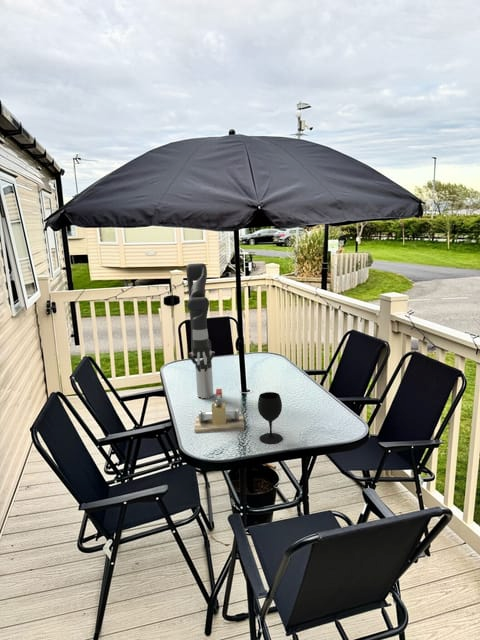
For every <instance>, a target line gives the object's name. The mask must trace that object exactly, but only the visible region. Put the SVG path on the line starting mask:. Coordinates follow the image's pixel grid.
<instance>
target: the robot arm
mask: <svg viewBox="0 0 480 640" xmlns="http://www.w3.org/2000/svg"><path fill="white" fill-rule="evenodd" d="M207 269H208V268H207V266H206V264H205V263H204V262H203V263H188V264H186V270H185V272H186V279H187V290H188V300H187V304H186V307H187V310H188V311H189V317H190V319H189V320H190V332H191V335H190V336H191V338H190V339H191V342H190V343H191V344H190V345H191V347H190V348H191V352H189V353H188V354H187V355H188V357H189V359H190V360H191V362H192V363H193V364H194V365H195V378H196V395H198V396H197V398H198V397H201V398H200V399H202V398H206V399H209V398H208V397H211V398H213V397H214V396H213V395H214V382H213V381H214V380H213V366H212V365H213V364H212V363H213V362H212V360H213V358H214V356H215V351H214V350H213V351H212V341H211V340H210V339H209V332H208V322H207V321H208V319H207V318H208V313H209V307H210V300H209V298H208V297H206V284H207V278H208V270H207ZM195 357H196V358H197V360H196V359H195ZM201 358H202V359H201ZM212 396H213V397H212Z"/></svg>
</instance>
